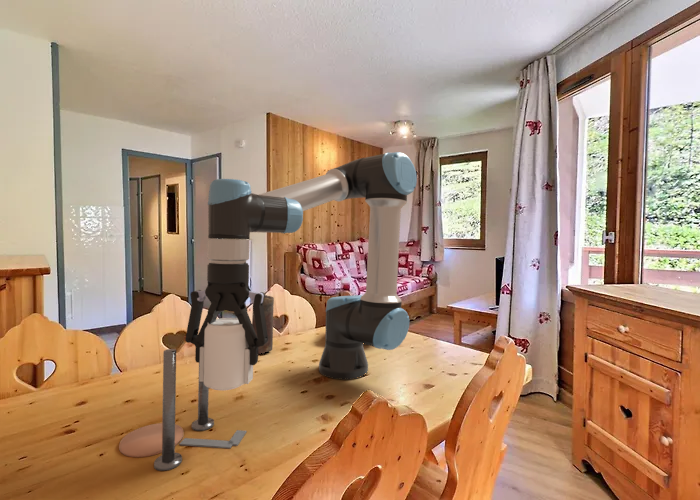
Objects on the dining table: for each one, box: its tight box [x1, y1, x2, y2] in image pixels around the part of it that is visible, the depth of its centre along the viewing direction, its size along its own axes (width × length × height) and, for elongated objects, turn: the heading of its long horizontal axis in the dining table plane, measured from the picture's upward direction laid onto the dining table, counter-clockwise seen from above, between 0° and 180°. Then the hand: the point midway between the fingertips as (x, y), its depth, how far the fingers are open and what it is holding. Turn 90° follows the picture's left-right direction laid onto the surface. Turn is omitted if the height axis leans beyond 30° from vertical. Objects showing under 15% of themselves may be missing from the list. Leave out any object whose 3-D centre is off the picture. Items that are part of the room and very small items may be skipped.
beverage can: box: [204, 317, 249, 391], centre depth 69 cm, size 8×8×12 cm
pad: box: [118, 422, 184, 458], centre depth 71 cm, size 11×11×1 cm
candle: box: [251, 294, 275, 355], centre depth 127 cm, size 8×7×20 cm
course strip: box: [178, 429, 247, 449], centre depth 72 cm, size 11×6×1 cm, turn 86°
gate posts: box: [153, 348, 215, 472], centre depth 70 cm, size 4×17×20 cm, turn 176°
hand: (226, 379), depth 69 cm, fingers closed on beverage can, 8 cm apart
